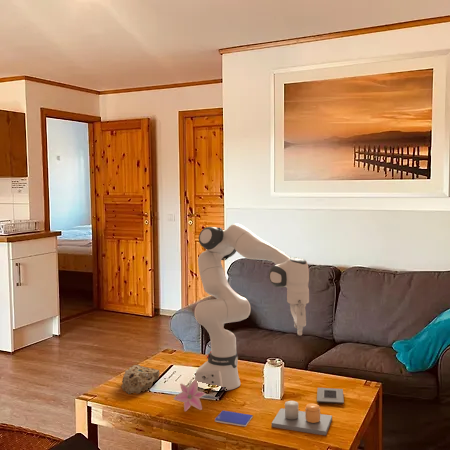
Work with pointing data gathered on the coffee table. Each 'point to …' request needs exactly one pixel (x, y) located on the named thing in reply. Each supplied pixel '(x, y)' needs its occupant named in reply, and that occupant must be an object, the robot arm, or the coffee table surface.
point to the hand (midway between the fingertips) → (298, 331)
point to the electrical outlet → (330, 395)
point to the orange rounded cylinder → (312, 413)
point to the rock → (139, 379)
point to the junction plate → (300, 420)
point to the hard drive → (233, 418)
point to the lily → (190, 396)
